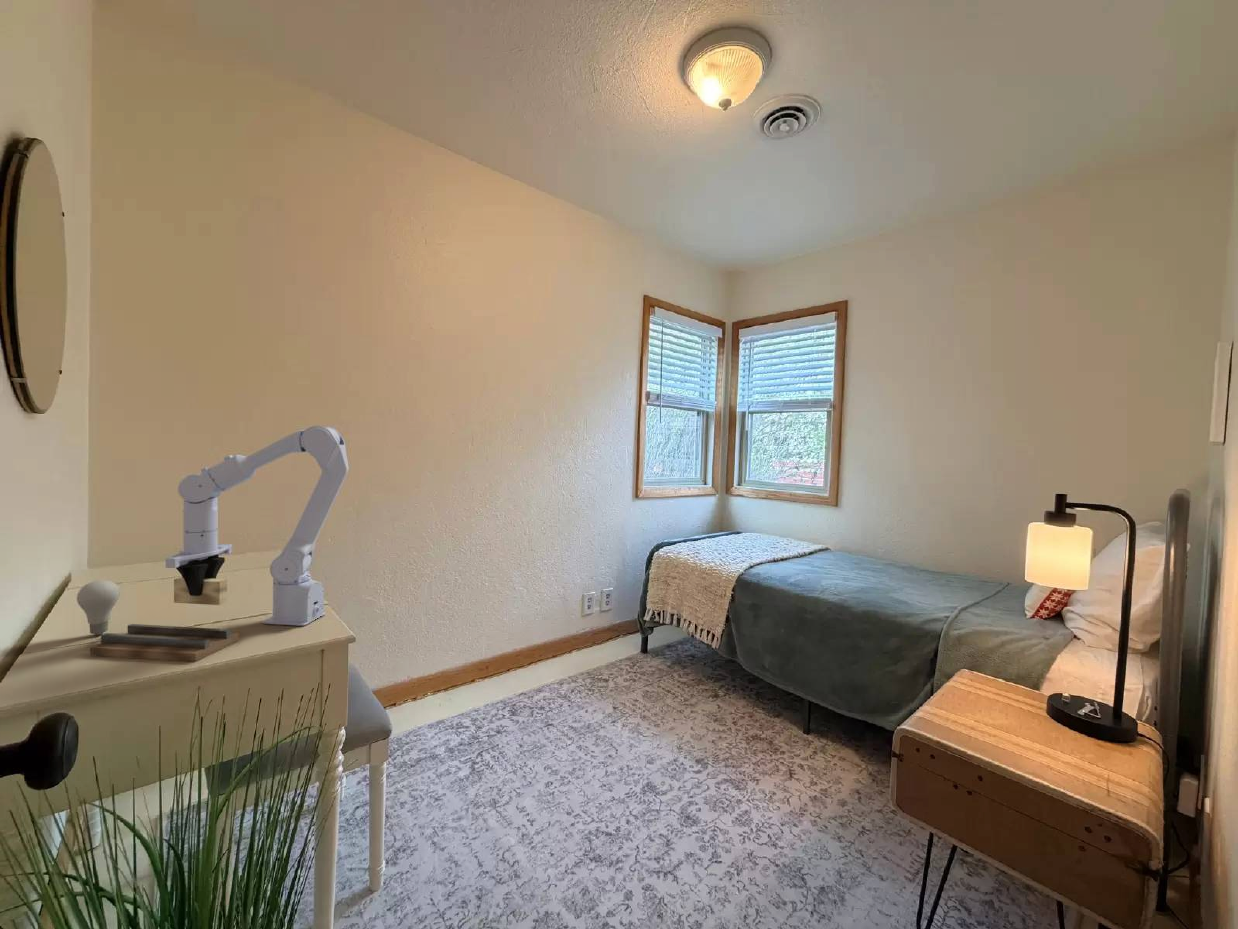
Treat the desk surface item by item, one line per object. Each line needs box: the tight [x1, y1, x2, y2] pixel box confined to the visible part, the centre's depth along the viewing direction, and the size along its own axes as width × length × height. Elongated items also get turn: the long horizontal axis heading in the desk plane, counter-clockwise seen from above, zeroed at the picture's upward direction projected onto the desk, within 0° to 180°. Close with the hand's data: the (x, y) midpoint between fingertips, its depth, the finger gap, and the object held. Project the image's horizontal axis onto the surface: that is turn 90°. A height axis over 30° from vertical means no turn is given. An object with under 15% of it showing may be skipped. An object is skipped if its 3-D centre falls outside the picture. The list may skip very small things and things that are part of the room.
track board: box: [89, 623, 239, 663], centre depth 99 cm, size 20×10×3 cm, turn 88°
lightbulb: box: [76, 579, 121, 636], centre depth 104 cm, size 6×6×11 cm
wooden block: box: [173, 576, 228, 606], centre depth 111 cm, size 10×2×5 cm, turn 88°
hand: (200, 593), depth 111 cm, fingers closed on wooden block, 2 cm apart
